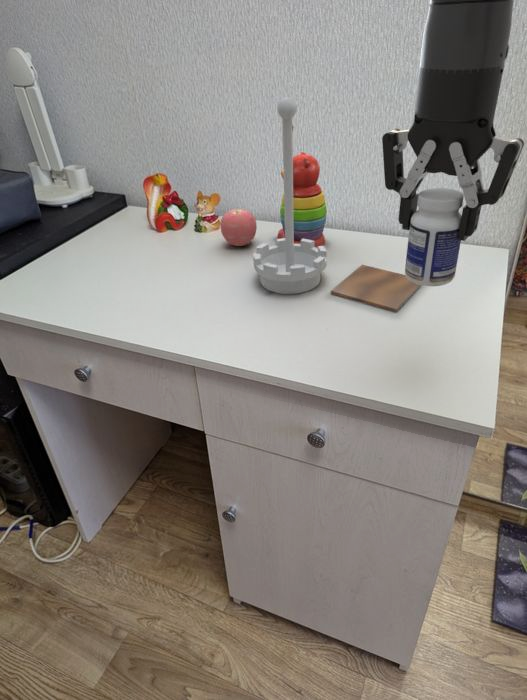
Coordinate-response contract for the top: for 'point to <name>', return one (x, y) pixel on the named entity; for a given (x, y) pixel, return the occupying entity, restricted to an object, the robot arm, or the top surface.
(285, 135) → the grey countertop holder stand
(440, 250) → the pill bottle
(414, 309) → the top surface
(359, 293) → the coaster
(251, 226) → the apple
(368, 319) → the top surface
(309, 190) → the stacking bear
